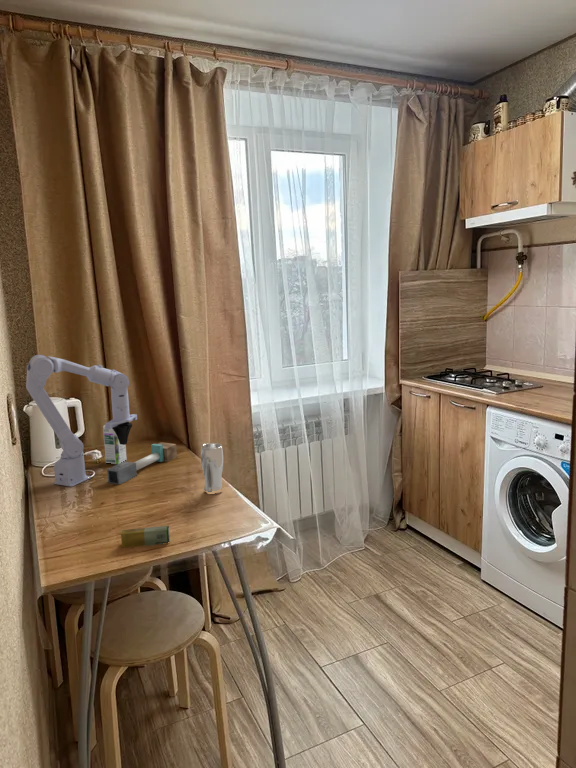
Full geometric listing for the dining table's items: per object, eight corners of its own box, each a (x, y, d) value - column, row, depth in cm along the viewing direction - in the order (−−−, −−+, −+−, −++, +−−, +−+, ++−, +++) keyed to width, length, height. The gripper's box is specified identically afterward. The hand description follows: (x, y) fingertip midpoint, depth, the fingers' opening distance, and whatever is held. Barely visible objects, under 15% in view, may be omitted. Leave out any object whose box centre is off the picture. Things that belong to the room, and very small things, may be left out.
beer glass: (198, 494, 173) (196, 448, 170) (208, 486, 179) (206, 442, 177) (219, 496, 171) (217, 449, 168) (228, 488, 177) (226, 443, 175)
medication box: (170, 539, 143) (169, 525, 142) (169, 544, 140) (169, 529, 140) (122, 543, 141) (121, 529, 140) (121, 548, 138) (120, 533, 138)
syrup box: (105, 463, 204) (101, 425, 202) (114, 458, 210) (111, 422, 207) (118, 464, 203) (115, 426, 200) (127, 460, 208) (124, 422, 206)
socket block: (167, 461, 205) (166, 448, 204) (152, 459, 208) (151, 446, 207) (176, 457, 210) (176, 444, 209) (161, 455, 213) (160, 442, 212)
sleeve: (119, 484, 182) (118, 470, 182) (108, 482, 184) (106, 469, 183) (136, 475, 190) (135, 462, 190) (125, 474, 192) (124, 461, 192)
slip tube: (135, 474, 190) (134, 457, 189) (126, 473, 192) (125, 456, 191) (168, 458, 208) (167, 442, 207) (160, 457, 210) (159, 441, 209)
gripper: (115, 411, 184) (118, 450, 186) (143, 403, 197) (145, 439, 199) (99, 410, 186) (102, 448, 189) (127, 401, 200) (129, 437, 202)
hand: (123, 444), depth 194 cm, fingers closed
